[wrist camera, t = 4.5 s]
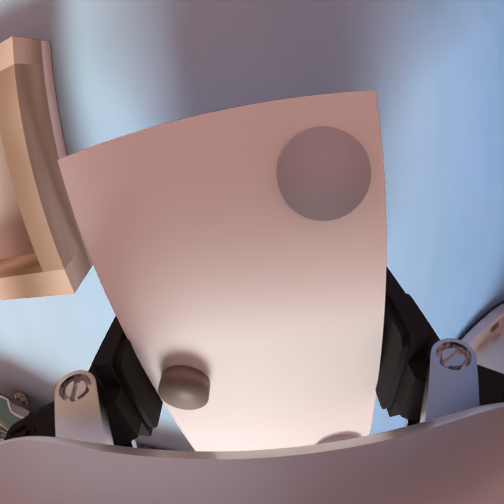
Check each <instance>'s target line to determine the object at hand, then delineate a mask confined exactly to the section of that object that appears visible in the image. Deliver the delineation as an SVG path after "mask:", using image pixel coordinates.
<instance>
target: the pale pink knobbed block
mask: <svg viewBox="0 0 504 504" xmlns="http://www.w3.org/2000/svg"><path fill="white" fill-rule="evenodd" d="M58 164H59V167H60V171H61V174H62V178H63V181H64V184H65V187H66V191H67V194H68V197H69V200H70V203H71V206H72V209H73V212H74V215H75V218H76V221H77V223H78V226H79V229H80V232H81V234H82V237H83V240H84V242H85V245H86V248H87V250H88V253H89V255H90V258H91V260H92V263H93V265H94V267H95V270H96V272H97V275H98V277H99V279H100V282H101V284H102V286H103V288H104V291H105V293H106V295H107V297H108V300H109V302H110V304H111V306H112V308H113V310H114V312H115V315H116V317H117V319H118V321H119V323H120V325H121V327H122V329H123V331H124V333H125V335H126V337H127V339H128V340H130V342H131V344H132V347H133V349H134V351H135V354H136V356H137V358H138V360H139V361H140V363H141V365H142V367H143V369H144V370H145V372H146V374H147V376H148V377H149V379H150V381H151V383H152V384H153V386H154V388H155V389H156V391H157V393H158V394H159V396H160V398H161V399H162V401H163V403H164V404H165V406H166V408H167V409H168V411H169V412H170V414H171V416H172V417H173V419H174V420H175V422H176V423H177V425H178V426H179V428H180V429H181V431H182V432H183V434H184V435H185V437H186V438H187V440H188V441H189V443H190V444H191V446H192V447H193V448H194V450H195V451H249V450H266V449H279V448H289V447H299V446H307V445H315V444H322V443H329V442H335V441H341V440H347V439H353V438H358V437H363V436H368V435H369V433H370V428H371V422H372V416H373V410H374V404H375V397H376V391H375V390H376V386H377V382H378V375H379V367H380V358H381V348H382V338H383V325H384V311H385V292H386V257H387V232H386V196H385V178H384V163H383V151H382V141H381V131H380V122H379V114H378V106H377V99H376V92H375V90H370V91H354V92H341V93H330V94H320V95H311V96H303V97H295V98H287V99H281V100H274V101H268V102H262V103H256V104H250V105H245V106H239V107H234V108H229V109H224V110H219V111H215V112H210V113H206V114H201V115H197V116H193V117H189V118H185V119H181V120H177V121H173V122H169V123H166V124H162V125H158V126H155V127H151V128H148V129H144V130H141V131H138V132H134V133H131V134H128V135H125V136H122V137H119V138H116V139H113V140H110V141H107V142H104V143H101V144H98V145H95V146H92V147H90V148H87V149H84V150H81V151H79V152H76V153H73V154H71V155H68V156H66V157H63V158H61V159H58Z"/></svg>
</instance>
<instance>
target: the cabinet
mask: <svg viewBox="0 0 504 504" xmlns="http://www.w3.org/2000/svg"><path fill="white" fill-rule="evenodd" d="M66 156H67V152H66V148H65V143H64V138H63V133H62V128H61V123H60V117H59V111H58V105H57V99H56V92H55V85H54V78H53V69H52V60H51V49H50V42H49V41H43V40H37V39H30V38H23V37H15V36H12V37H10V38H8V39H7V40H5V41H3V42H1V43H0V300H7V299H19V298H30V297H42V296H53V295H64V294H74V293H75V292H76V290H77V289H78V287H79V285H80V284H81V282H82V281H83V279H84V278H85V276H86V275H87V273H88V272H89V270H90V268H91V267H92V265H93V263H92V260H91V258H90V255H89V253H88V250H87V248H86V245H85V242H84V240H83V237H82V234H81V232H80V229H79V226H78V223H77V221H76V218H75V215H74V212H73V209H72V206H71V203H70V200H69V197H68V194H67V191H66V187H65V184H64V181H63V178H62V174H61V171H60V167H59V164H58V159H61V158H63V157H66Z"/></svg>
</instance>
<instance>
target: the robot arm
mask: <svg viewBox="0 0 504 504" xmlns="http://www.w3.org/2000/svg"><path fill="white" fill-rule="evenodd" d="M375 391H376V394H377V396H378V399H379V402H380V405H381V407H382V409H386V408H387V411H388V414H389V416H390V417H392V416H396V415H401V417H403V418H406V420H405V426H404V427H403V428H399V429H395V430H390V431H386V432H382V433H377V434H373V435H368V436H363V437H358V438H353V439H347V440H341V441H335V442H329V443H322V444H315V445H307V446H299V447H289V448H279V449H266V450H249V451H174V450H157V449H144V448H137V445H136V442H135V439H136V438H137V437H138V435H143V436H151V433H152V429H153V427H157V425H158V421H159V417H160V413H161V408H162V404H163V401H162V399H161V398H160V396H159V394H158V393H157V391H156V389H155V388H154V386H153V384H152V383H151V381H150V379H149V377H148V376H147V374H146V372H145V370H144V369H143V367H142V365H141V363H140V361H139V360H138V358H137V356H136V354H135V351H134V349H133V347H132V344H131V342H130V340H128V339H127V337H126V335H125V333H124V331H123V329H122V327H121V325H120V323H119V321H118V319H117V317H115V319H114V320H113V322H112V324H111V326H110V328H109V330H108V332H107V334H106V336H105V338H104V340H103V342H102V344H101V346H100V348H99V350H98V352H97V354H96V356H95V358H94V360H93V362H92V365H91V367H90V369H89V371H83V370H79V371H74V372H71V373H69V374H67V375H66V376H64V377H63V378H62V379H61V380H60V381H59V382H58V384H57V386H56V388H55V401H53V402H52V403H50V404H48V405H46V406H44V407H43V408H41V409H39V410H37V411H35V412H34V413H32V414H30V415H28V416H26V417H24V418H23V419H21V420H19V421H17V422H16V423H14V424H13V425H12V426H11V427H10V429H9V430H8V432H7V434H6V439H5V441H4V440H3V439H2V438H1V439H0V504H504V303H503V304H501V305H499V306H498V307H497V308H495V309H494V310H492V311H491V312H490V313H488V314H487V315H486V316H485V317H484V318H483V319H481V320H480V321H479V322H478V323H477V324H476V325H475V326H474V327H473V328H472V329H471V330H470V331H469V332H468V333H467V334H466V335H465V336H464V337H463V338H462V339H461V340H458V339H454V338H446V339H442V340H440V339H439V338H438V336H437V335H436V333H435V332H434V330H433V328H432V327H431V325H430V324H429V322H428V321H427V319H426V318H425V316H424V315H423V313H422V312H421V310H420V309H419V307H418V306H417V304H416V303H415V302H414V300H413V299H412V297H411V296H410V295H409V294H406V293H405V292H404V290H403V289H402V288H401V286H400V285H399V283H398V282H397V280H396V279H395V278H394V276H393V275H392V273H391V272H390V270H389V269H388V268H387V266H386V292H385V311H384V325H383V338H382V348H381V358H380V367H379V375H378V382H377V386H376V390H375Z"/></svg>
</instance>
